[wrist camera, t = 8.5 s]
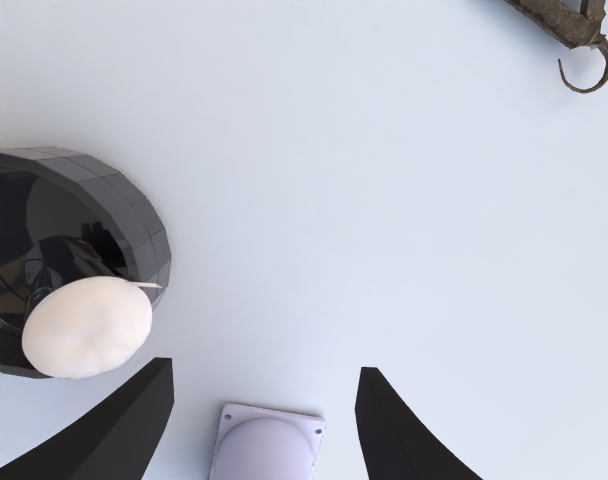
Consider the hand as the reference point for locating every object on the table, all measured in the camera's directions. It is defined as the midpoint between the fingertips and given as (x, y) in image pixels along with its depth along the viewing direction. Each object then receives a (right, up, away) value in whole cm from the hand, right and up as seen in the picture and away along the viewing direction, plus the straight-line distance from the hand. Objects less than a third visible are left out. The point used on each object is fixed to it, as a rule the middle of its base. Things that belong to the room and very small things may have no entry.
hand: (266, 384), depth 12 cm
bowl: (-13, +5, +8) cm, 16 cm away
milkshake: (-13, +5, +7) cm, 15 cm away
